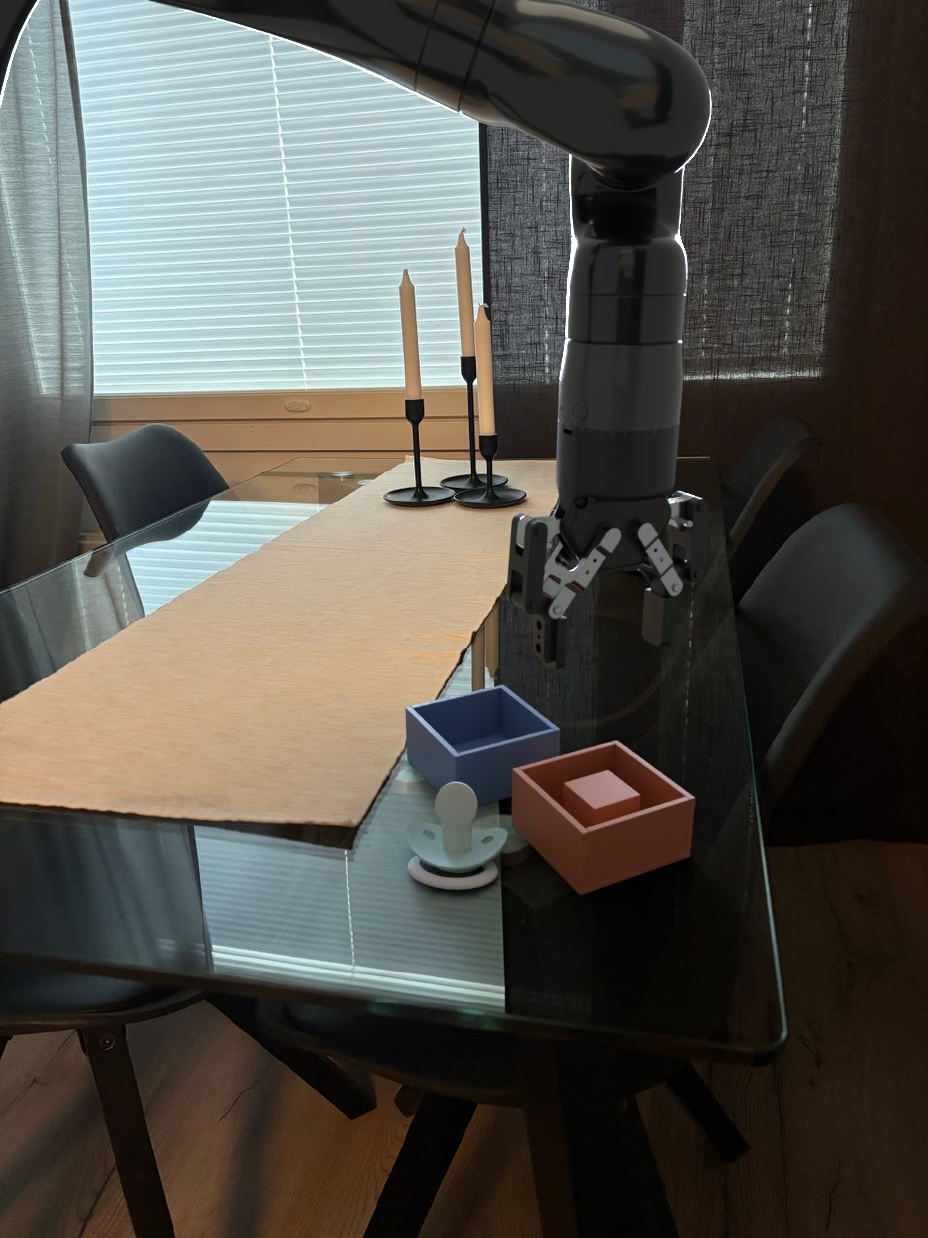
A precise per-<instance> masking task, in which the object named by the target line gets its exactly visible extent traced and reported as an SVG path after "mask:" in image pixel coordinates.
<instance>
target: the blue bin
mask: <svg viewBox="0 0 928 1238" xmlns="http://www.w3.org/2000/svg"><path fill="white" fill-rule="evenodd" d="M404 710H405V739H406V759H407V760H408V762H409V763H410V764H411V765H412V766H413V767H414V768H415V769H416V770H417V771H418V773H419V774H420V775H421V776H422V777H423V778H424V779H425V780H426V781H427V783H428V784H429V785H430V786H431V787H432V788H433V789H434V791H436V792H437V793H438V792H439V791H440V789H441V788H442V787H443V786H445V785H446V784H448V783H451V782H461V783H464V784H466V785H468V786H469V787H470V788H471V789H472V790H473V792H474V794H475V796H476V799H477V807H480V806H483V805H488V804H490V803H495V802H498V801H501V800H505V799H508V798H512V769H514V768H518V767H521V766H525V765H529V764H532V763H536V762H539V761H543V760H547V759H550V758H554V757H558V756H561V754H560V751H561V750H560V749H561V729H560V728H559V727H557V726H556V725H555V724H554V723H552V721H550V720H549V719H548V718H546V717H545V716H544V715H543V714H541V713H540V712H539V711H537V710H536V709H534V707H532V706H531V705H530V704H528V703H527V702H526V701H525V700H523V699H522V698H521V697H519V696H518V695H517V694H516V693H514V692H513V691H512V690H511V689H509V688H508V687H507V686H506V685H504V684H499V685H496V686H492V687H491V686H490V687H487V688H483V689H478V690H475V691H469V692H466V693H461V694H457V695H453V696H449V697H444V698H440V699H435V700H431V701H427V702H423V703H418V704H414V705H409V706H405V708H404Z"/></svg>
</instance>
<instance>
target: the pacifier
mask: <svg viewBox="0 0 928 1238" xmlns="http://www.w3.org/2000/svg"><path fill="white" fill-rule="evenodd" d="M434 809H435V812H436V815H437V817H438V819H439V820H440V822H441V826H440V825H438V824H435V823H432V822H428V821H423V820H422V821H420V820H419V821H417V820H416V821H412V822H410V823H408V824H407V826H406V829H405V839H406V843H407V845H408V847H409V849H410V851H411V852H412V853H413V855H414V856H413V857H412V858H411V859H410V860H409V862H408V864H407V871H408V873H409V875H410V876H411V877H412V878H413V879H415V880H416V881H417V882H420V883H421V884H423V885H426V886H430V887H433V888H437V889H443V890H452V891H453V890H456V891H462V890H472V889H477V888H482V887H484V886H486V885H488V884H490V883H491V882H493V881H495V880H496V878H497V876H498V874H499V870H498V869H499V868H498V866H497V865H496V863H494V861H492V860H493V859H494V858H496V857H497V856H498V855H499V854H500V853H501V852H502V851H503V849H504V848H505V846H506V844H507V841H508V831H507V829H505V828H503V827H488V828H483V829H479V830H475V831H473V832H472V822H473V821H474V819H475V817H476V815H477V812H478V806H477V799H476V796H475V794H474V792H473V790H472V789H471V788H470V787H469V786H468V785H466V784H464V783H461V782H451V783H448V784H446V785H445V786H443V787H442V788H441V789H440V791H439V792H437V794H436V796H435V801H434ZM425 835H431V836H432V837H433V839H429V838H427V837H426V836H425ZM488 840H491V841H490V842H488V843H485V841H488ZM425 864H427V865H430V866H432V867H435V868H437V869H438V870H440V871H443V872H447V873H452V874H453V873H454V874H463V873H464V874H465V873H470V872H473V871H475V870H477V869H479V868H480V867H482V868H483V871H481V872H479V873H478V874H475V875H470V876H466V877H446V876H442V875H437V874H434V873H431V872H429V871H427V870H426V869H424V868H423V865H425Z"/></svg>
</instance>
